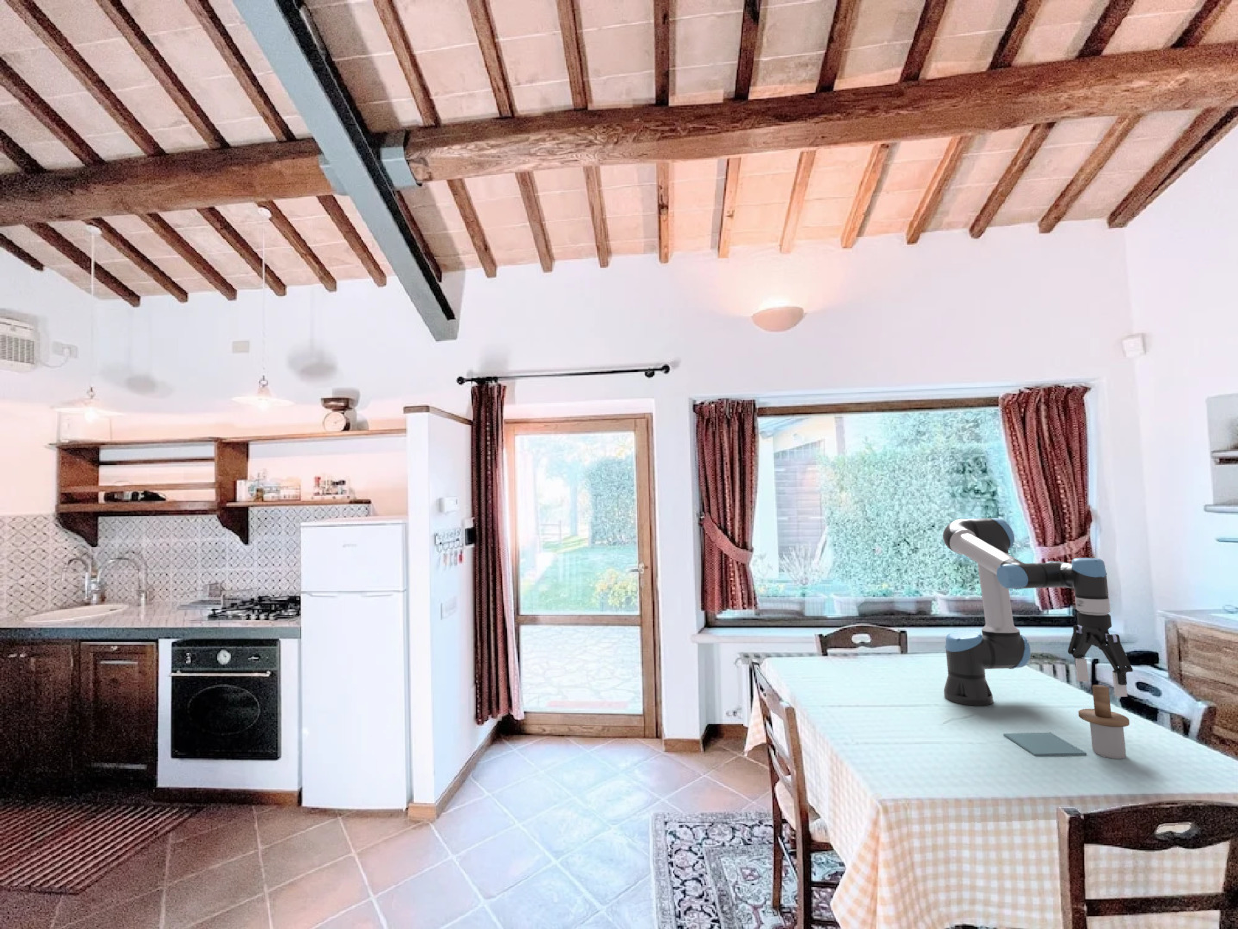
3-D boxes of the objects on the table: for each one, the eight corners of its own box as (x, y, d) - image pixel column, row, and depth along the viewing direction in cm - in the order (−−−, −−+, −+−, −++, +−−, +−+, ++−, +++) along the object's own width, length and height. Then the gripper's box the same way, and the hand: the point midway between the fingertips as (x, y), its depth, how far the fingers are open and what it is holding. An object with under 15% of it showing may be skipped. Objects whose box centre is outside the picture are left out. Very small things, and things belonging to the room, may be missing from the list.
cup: (1100, 758, 156) (1097, 725, 157) (1082, 743, 166) (1079, 712, 167) (1132, 760, 154) (1128, 727, 155) (1112, 745, 164) (1109, 713, 165)
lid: (1069, 712, 166) (1066, 681, 167) (1107, 711, 166) (1104, 680, 167) (1098, 727, 155) (1095, 694, 156) (1140, 726, 155) (1137, 693, 156)
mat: (1003, 735, 173) (1003, 733, 173) (1050, 734, 172) (1050, 732, 172) (1034, 756, 159) (1034, 753, 159) (1086, 755, 159) (1086, 752, 159)
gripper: (1049, 605, 175) (1056, 675, 174) (1115, 621, 151) (1124, 703, 149) (1074, 604, 175) (1081, 675, 173) (1144, 620, 150) (1153, 703, 148)
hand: (1101, 688), depth 161 cm, fingers open, 13 cm apart
